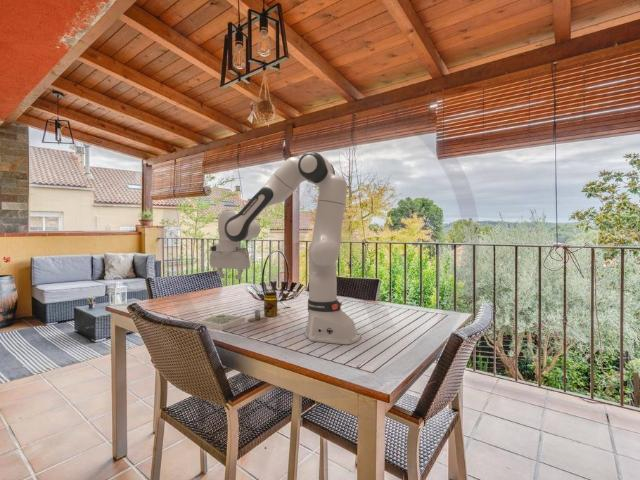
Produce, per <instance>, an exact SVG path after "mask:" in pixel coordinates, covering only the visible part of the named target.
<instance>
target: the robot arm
mask: <svg viewBox="0 0 640 480" xmlns="http://www.w3.org/2000/svg"><path fill="white" fill-rule="evenodd" d="M304 181H307V182H309V183H311V184H313V185H315V186H318V190H319V192H318V198H317V204H316V209H315V214H314V220H313V231H312V238H311V242H310V243H309V246H308V279H309V280H308V287H309V288H308V299H307V312H308V314H307V322H306V328H305V332H304V336H305V337H307V338H308V340H309V341H310V342H318V343H328V344H334V345H335V344H337V345H351V344H355V343H357V342H358V341H360V339H361V338H362V333H361V332H359V331H356V324H355V321H354V320H353V318H351V317H350V316H349V315H348V314H347V313H346V312H344V311H343V310H342V308H341V306H342V305H343V301H339V300H338V299H337V297H338V296H337V295H338V292H337V289H338V285H337V284H338V279H337V271H336V270H337V268H336V267H337V266H336V263H337V260H338V258H339V257H340V252H341V251H340V249H341V240H342V227H343V219H344V216H345V210H346V203H347V193H348V192H347V191H348V190H347V186H348V185H347V181H346V179H345V178H344V177H343V176H341V175H338V174H336V171H335V169H334V166H333V165H332V163H330V162H329V160H328V159H327V158H326V157H324V156H323V155H321V154H320V153H318V152H314V151H308V152H305V153H304V154H301V156H300V157H299V158H298V157H296V156H292V157H288V158H287V159H286V160H285V161H284V162H283V163H281V164H280V165H279V167H278V168H277V169H276V170H275V171H274V172H273V174H272V175H271V177H269V179H268V180H267V181H266V183H265V184H264V185H263V186H262V187H261V188H260V189H259V190H258V192H256V193H255V195H254V196H253V197H251V199H250V200H249V201H248V202H247V203H246V204H245V205H244V206H243V208H242V209H241V210H239V211H238V210H236V209H227V210H223V211H221V212H220V213H219V214H218V215H219V216H218V220H217V226H218V227H217V228H218V229H217V232H218V235H219V236H218V243H216V244H214V245H211V246H210V247H209V251H210V253H209V266H210V267H211V268H215V269H216V271H217V273H218V279H224V278H225V273H223V269H233V270H237V274H235V279H236V280H241V279H242V274H243V273H244V270H249V269H250V267H251V261H250V254H249V249H247V248H246V247H240V242H242V241H248V240H253V239H255V238H257V237H258V236H259V234H260V233H261V225H260V222H259V220H257V219H256V218H257V217H258V216H259V215H261V213H262V212H263V211H264V210H265V209H266V208H267V207H269V206H272V205H275V204H278V203H282V202H284V201H285V200H287V199H288V198H289V197H290V196H292V194H293V193H294V192H295V191H296V189H297V188H298V187H299V185H300V184H301V183H303V182H304Z"/></svg>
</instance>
